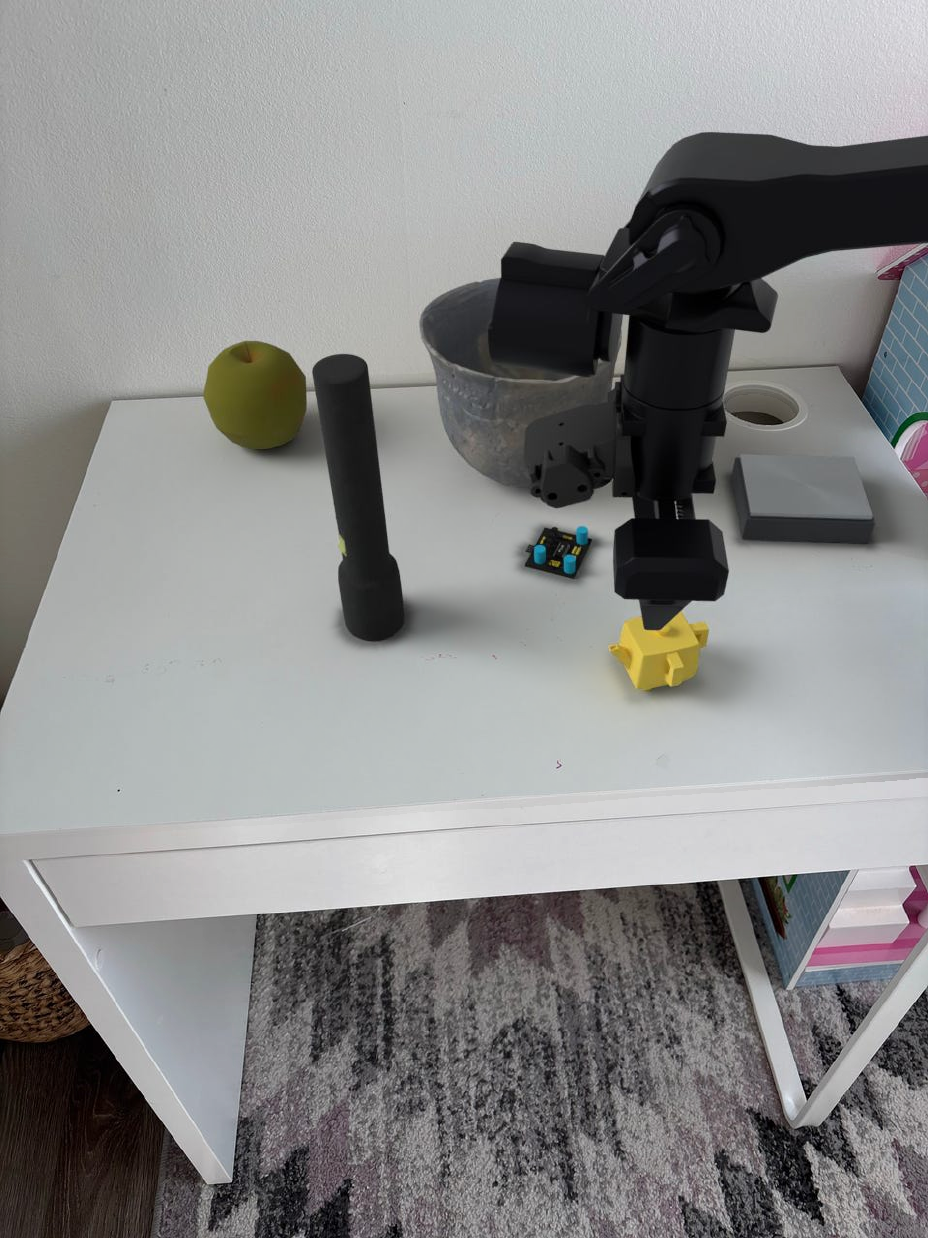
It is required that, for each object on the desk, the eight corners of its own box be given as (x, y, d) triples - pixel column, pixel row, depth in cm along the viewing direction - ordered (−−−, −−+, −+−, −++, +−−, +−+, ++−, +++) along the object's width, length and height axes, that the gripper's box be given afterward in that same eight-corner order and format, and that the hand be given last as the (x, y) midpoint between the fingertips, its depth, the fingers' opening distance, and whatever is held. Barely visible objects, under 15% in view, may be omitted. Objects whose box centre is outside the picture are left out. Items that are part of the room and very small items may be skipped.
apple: (213, 470, 95) (186, 373, 87) (220, 414, 102) (197, 319, 94) (314, 462, 96) (297, 365, 88) (315, 407, 103) (299, 312, 95)
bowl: (415, 515, 90) (403, 375, 79) (439, 407, 102) (431, 273, 91) (608, 524, 88) (622, 382, 77) (608, 413, 100) (621, 277, 89)
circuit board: (540, 513, 87) (593, 526, 85) (539, 528, 88) (592, 541, 87) (519, 550, 84) (574, 564, 82) (519, 565, 85) (573, 579, 83)
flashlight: (389, 590, 83) (335, 611, 81) (359, 338, 66) (290, 359, 64) (414, 627, 80) (360, 649, 78) (390, 373, 62) (318, 395, 61)
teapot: (620, 715, 73) (626, 671, 69) (595, 660, 77) (599, 615, 73) (718, 693, 74) (730, 648, 70) (688, 640, 78) (698, 595, 74)
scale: (851, 480, 91) (860, 454, 89) (871, 543, 85) (881, 518, 83) (730, 477, 92) (736, 451, 90) (741, 539, 86) (747, 514, 84)
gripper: (536, 301, 62) (533, 492, 73) (527, 482, 49) (526, 680, 60) (712, 301, 61) (682, 494, 72) (750, 485, 48) (707, 685, 59)
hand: (648, 579), depth 66 cm, fingers open, 9 cm apart
